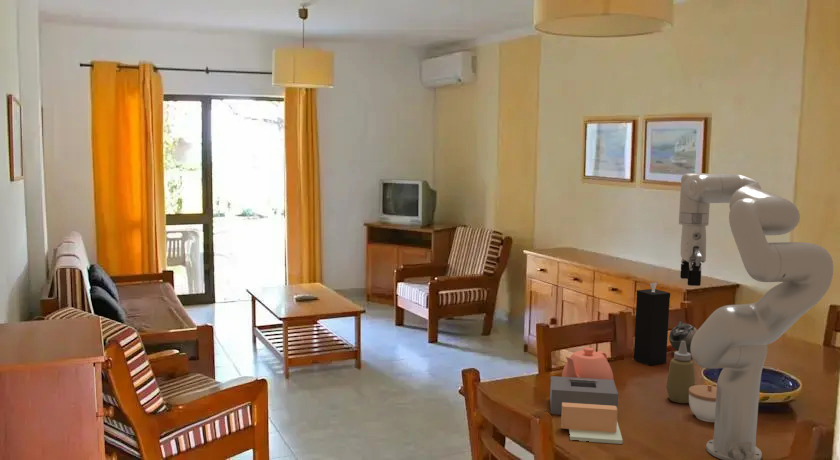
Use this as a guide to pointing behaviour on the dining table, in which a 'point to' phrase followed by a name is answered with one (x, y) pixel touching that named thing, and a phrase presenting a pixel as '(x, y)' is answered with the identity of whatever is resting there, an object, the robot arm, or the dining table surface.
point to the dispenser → (581, 392)
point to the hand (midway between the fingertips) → (690, 281)
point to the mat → (596, 436)
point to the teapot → (588, 365)
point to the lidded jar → (703, 401)
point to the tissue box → (651, 326)
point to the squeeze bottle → (680, 375)
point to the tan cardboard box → (589, 417)
